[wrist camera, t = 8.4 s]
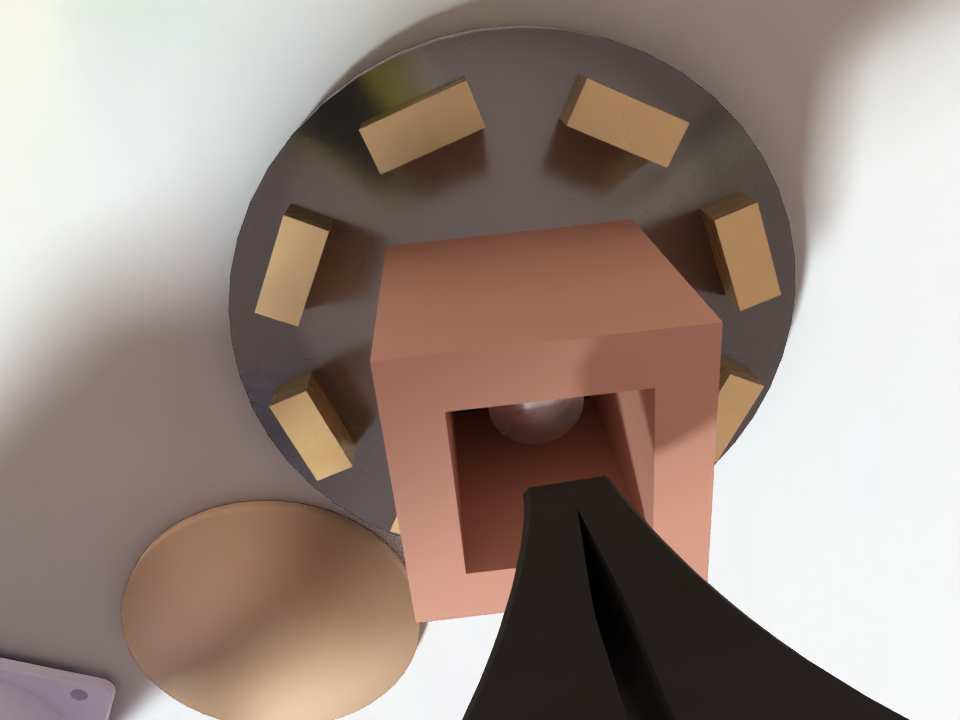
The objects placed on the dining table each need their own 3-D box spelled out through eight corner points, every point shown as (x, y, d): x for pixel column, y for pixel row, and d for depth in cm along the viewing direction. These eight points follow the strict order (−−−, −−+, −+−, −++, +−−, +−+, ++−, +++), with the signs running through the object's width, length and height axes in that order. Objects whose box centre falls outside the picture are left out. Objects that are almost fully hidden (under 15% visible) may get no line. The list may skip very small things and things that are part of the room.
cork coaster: (102, 682, 25) (96, 695, 24) (160, 464, 21) (154, 475, 21) (368, 736, 27) (367, 749, 26) (461, 546, 23) (462, 557, 23)
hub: (182, 455, 21) (125, 568, 17) (333, -87, 15) (302, -112, 11) (628, 578, 24) (669, 697, 20) (885, 163, 19) (1013, 213, 15)
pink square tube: (417, 453, 20) (415, 622, 15) (386, 246, 18) (369, 361, 12) (632, 429, 20) (706, 588, 15) (632, 219, 18) (722, 322, 12)
